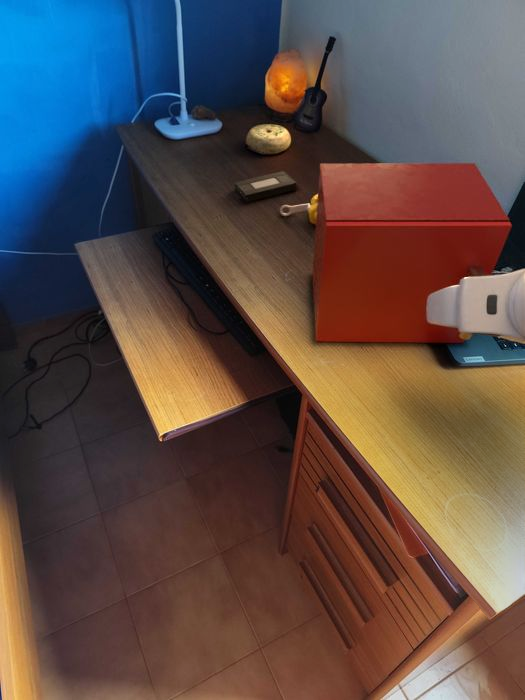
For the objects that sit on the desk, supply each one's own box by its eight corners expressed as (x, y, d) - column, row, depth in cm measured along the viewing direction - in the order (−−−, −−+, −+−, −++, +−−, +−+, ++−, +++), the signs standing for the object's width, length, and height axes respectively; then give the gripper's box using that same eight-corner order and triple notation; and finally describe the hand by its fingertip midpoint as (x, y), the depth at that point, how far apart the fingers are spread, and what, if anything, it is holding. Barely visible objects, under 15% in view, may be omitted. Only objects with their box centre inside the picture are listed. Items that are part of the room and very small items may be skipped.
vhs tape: (235, 189, 123) (234, 182, 122) (283, 178, 127) (283, 171, 126) (246, 202, 118) (246, 195, 117) (296, 189, 122) (296, 182, 121)
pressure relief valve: (329, 207, 115) (332, 229, 108) (281, 214, 117) (282, 237, 110) (327, 186, 111) (330, 208, 104) (278, 194, 113) (278, 217, 106)
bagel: (294, 154, 137) (294, 137, 134) (249, 158, 136) (248, 140, 132) (286, 136, 146) (286, 119, 143) (244, 139, 145) (243, 122, 142)
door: (472, 368, 78) (527, 250, 61) (317, 366, 79) (328, 249, 62) (461, 339, 83) (509, 221, 66) (315, 337, 84) (325, 221, 67)
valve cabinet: (461, 338, 83) (509, 219, 66) (315, 337, 84) (325, 219, 67) (438, 277, 96) (474, 162, 78) (312, 276, 97) (320, 163, 79)
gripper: (636, 278, 52) (561, 290, 66) (450, 276, 53) (414, 289, 66) (633, 335, 52) (559, 335, 66) (448, 332, 53) (413, 333, 67)
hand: (485, 312), depth 66 cm, fingers open, 8 cm apart
